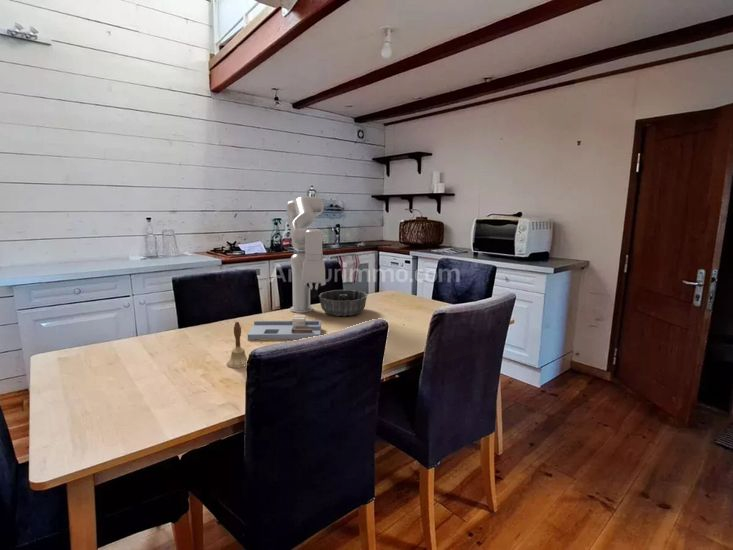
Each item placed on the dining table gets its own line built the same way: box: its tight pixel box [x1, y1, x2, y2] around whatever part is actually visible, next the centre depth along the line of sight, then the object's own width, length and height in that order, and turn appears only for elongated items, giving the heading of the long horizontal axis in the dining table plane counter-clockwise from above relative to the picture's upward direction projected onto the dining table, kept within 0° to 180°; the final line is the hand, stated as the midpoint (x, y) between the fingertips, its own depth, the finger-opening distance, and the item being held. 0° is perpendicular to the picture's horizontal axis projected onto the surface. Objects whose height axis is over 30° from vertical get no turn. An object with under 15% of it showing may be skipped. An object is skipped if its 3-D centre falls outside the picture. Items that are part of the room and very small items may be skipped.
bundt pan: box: [318, 289, 368, 317], centre depth 214 cm, size 26×26×10 cm
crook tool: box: [292, 328, 312, 333], centre depth 173 cm, size 3×9×1 cm, turn 95°
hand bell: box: [226, 321, 248, 369], centre depth 143 cm, size 8×8×16 cm
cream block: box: [291, 314, 307, 328], centre depth 180 cm, size 6×6×4 cm
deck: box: [247, 320, 322, 341], centre depth 177 cm, size 15×31×4 cm, turn 95°
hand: (314, 297), depth 178 cm, fingers closed
